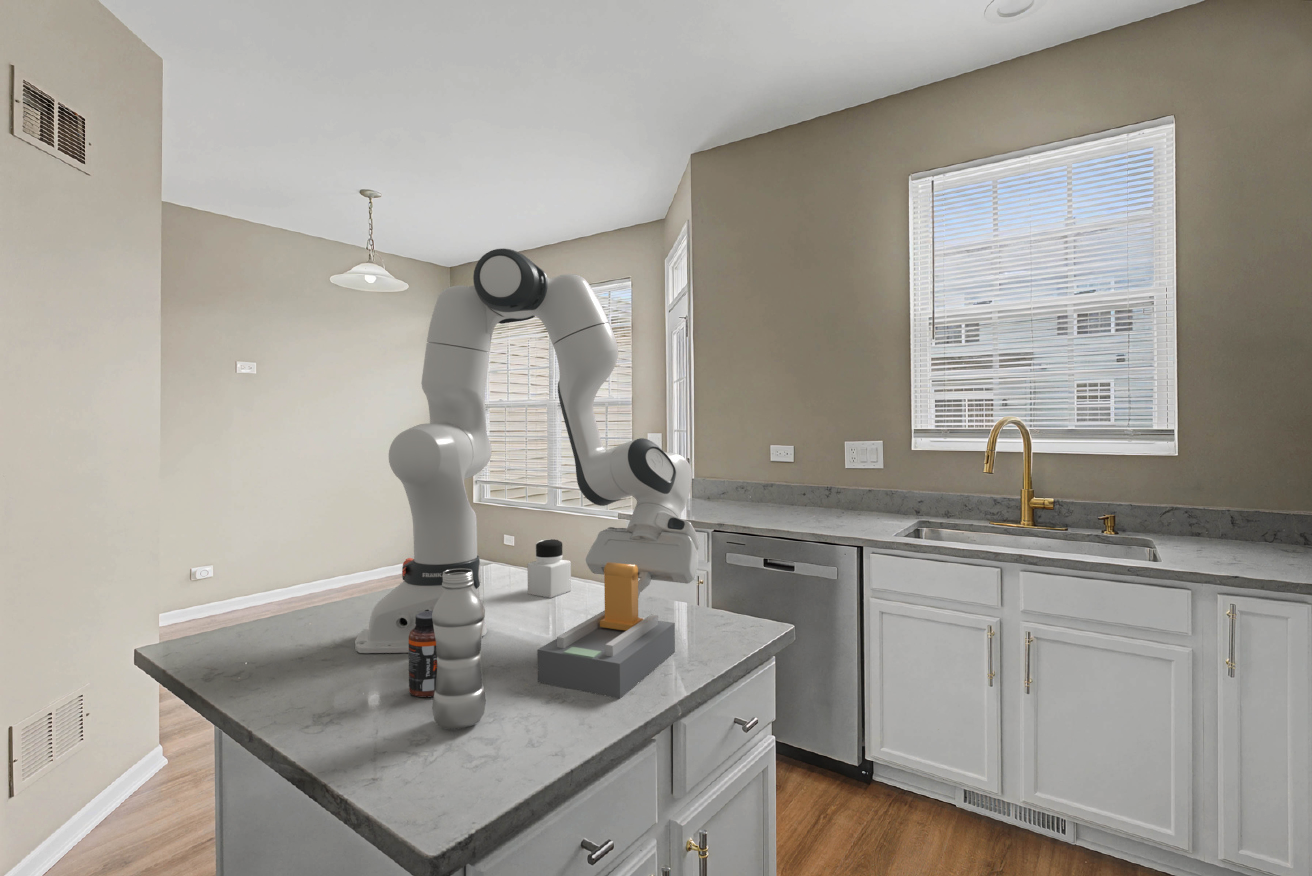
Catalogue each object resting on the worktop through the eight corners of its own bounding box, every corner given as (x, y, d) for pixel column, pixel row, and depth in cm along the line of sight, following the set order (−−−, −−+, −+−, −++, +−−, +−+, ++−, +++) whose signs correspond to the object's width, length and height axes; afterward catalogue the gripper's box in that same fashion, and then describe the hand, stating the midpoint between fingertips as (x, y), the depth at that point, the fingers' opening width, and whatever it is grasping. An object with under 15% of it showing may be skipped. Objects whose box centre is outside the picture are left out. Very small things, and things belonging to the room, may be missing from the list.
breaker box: (602, 640, 116) (602, 604, 116) (674, 652, 110) (674, 613, 110) (537, 682, 98) (537, 639, 97) (620, 698, 92) (619, 652, 92)
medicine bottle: (571, 591, 149) (571, 539, 149) (550, 598, 143) (550, 544, 143) (548, 587, 153) (547, 536, 153) (527, 594, 147) (526, 541, 147)
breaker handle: (611, 619, 110) (610, 559, 110) (643, 624, 108) (642, 562, 108) (599, 626, 107) (599, 564, 106) (632, 631, 104) (631, 567, 104)
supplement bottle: (438, 700, 91) (437, 621, 91) (400, 697, 93) (399, 619, 92) (459, 683, 97) (458, 609, 97) (423, 680, 99) (422, 607, 98)
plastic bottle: (439, 714, 87) (436, 566, 87) (490, 711, 88) (488, 565, 87) (426, 737, 81) (423, 578, 80) (481, 735, 81) (479, 577, 81)
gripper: (595, 516, 120) (568, 581, 112) (699, 523, 112) (678, 594, 103) (607, 536, 124) (581, 600, 116) (708, 544, 116) (688, 614, 107)
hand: (628, 597), depth 109 cm, fingers closed
